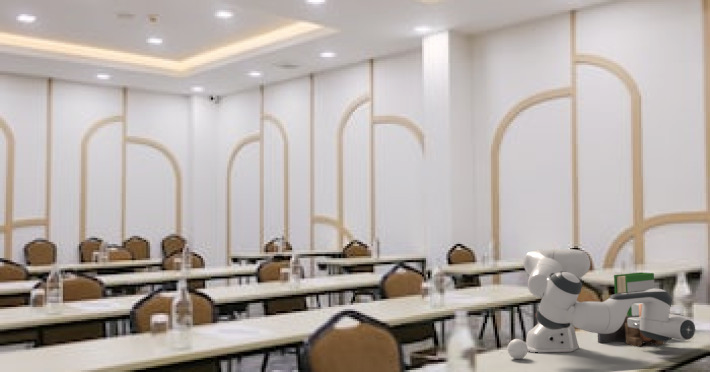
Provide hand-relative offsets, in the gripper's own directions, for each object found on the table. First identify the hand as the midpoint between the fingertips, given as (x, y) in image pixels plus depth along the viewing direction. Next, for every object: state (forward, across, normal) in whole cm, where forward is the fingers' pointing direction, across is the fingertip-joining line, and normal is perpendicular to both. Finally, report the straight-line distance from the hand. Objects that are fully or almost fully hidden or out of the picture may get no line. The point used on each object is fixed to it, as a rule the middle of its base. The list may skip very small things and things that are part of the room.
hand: (643, 319), depth 290 cm
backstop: (+9, 0, -10) cm, 13 cm away
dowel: (-1, 0, -8) cm, 8 cm away
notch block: (+1, 0, -10) cm, 10 cm away
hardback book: (+41, +20, -10) cm, 46 cm away
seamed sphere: (-11, -59, -10) cm, 61 cm away
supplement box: (+24, +14, -10) cm, 29 cm away
